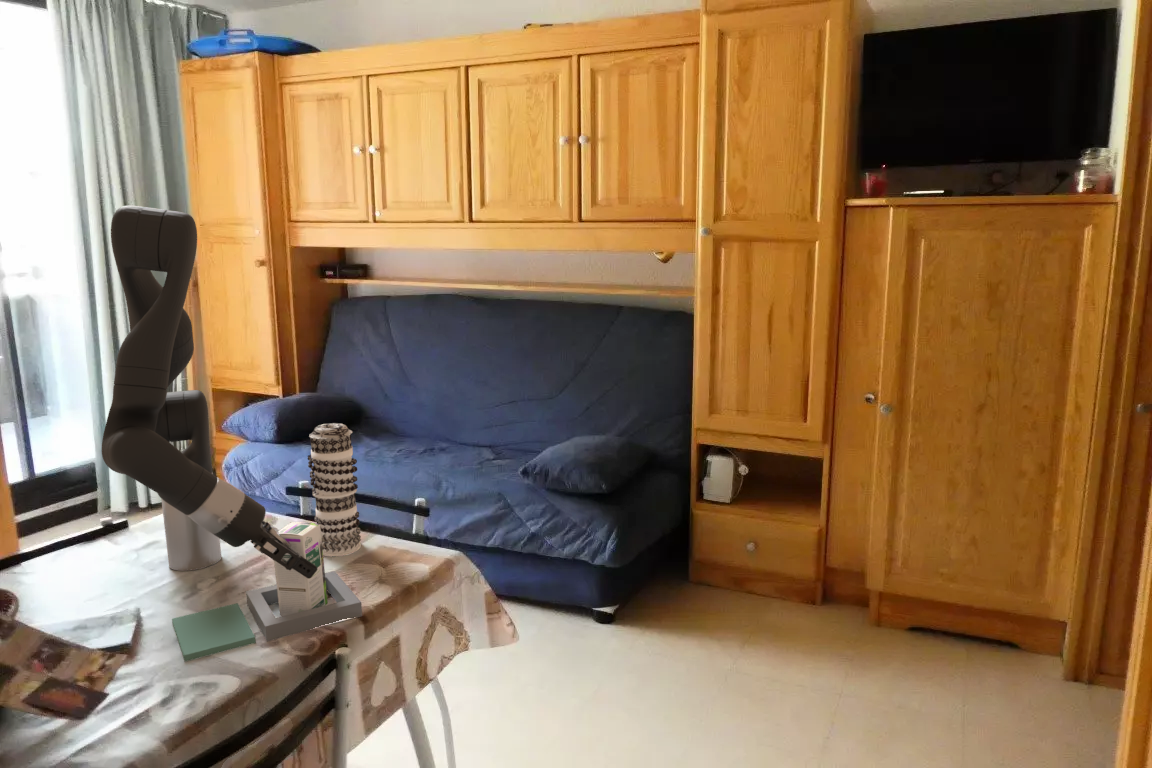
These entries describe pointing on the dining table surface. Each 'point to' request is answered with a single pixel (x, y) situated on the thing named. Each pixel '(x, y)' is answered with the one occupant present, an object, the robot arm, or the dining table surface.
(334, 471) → the decorative candle
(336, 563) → the dining table surface
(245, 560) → the dining table surface
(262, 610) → the pocket board
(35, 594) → the dining table surface
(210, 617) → the pad
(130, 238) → the robot arm
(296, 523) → the syrup box
